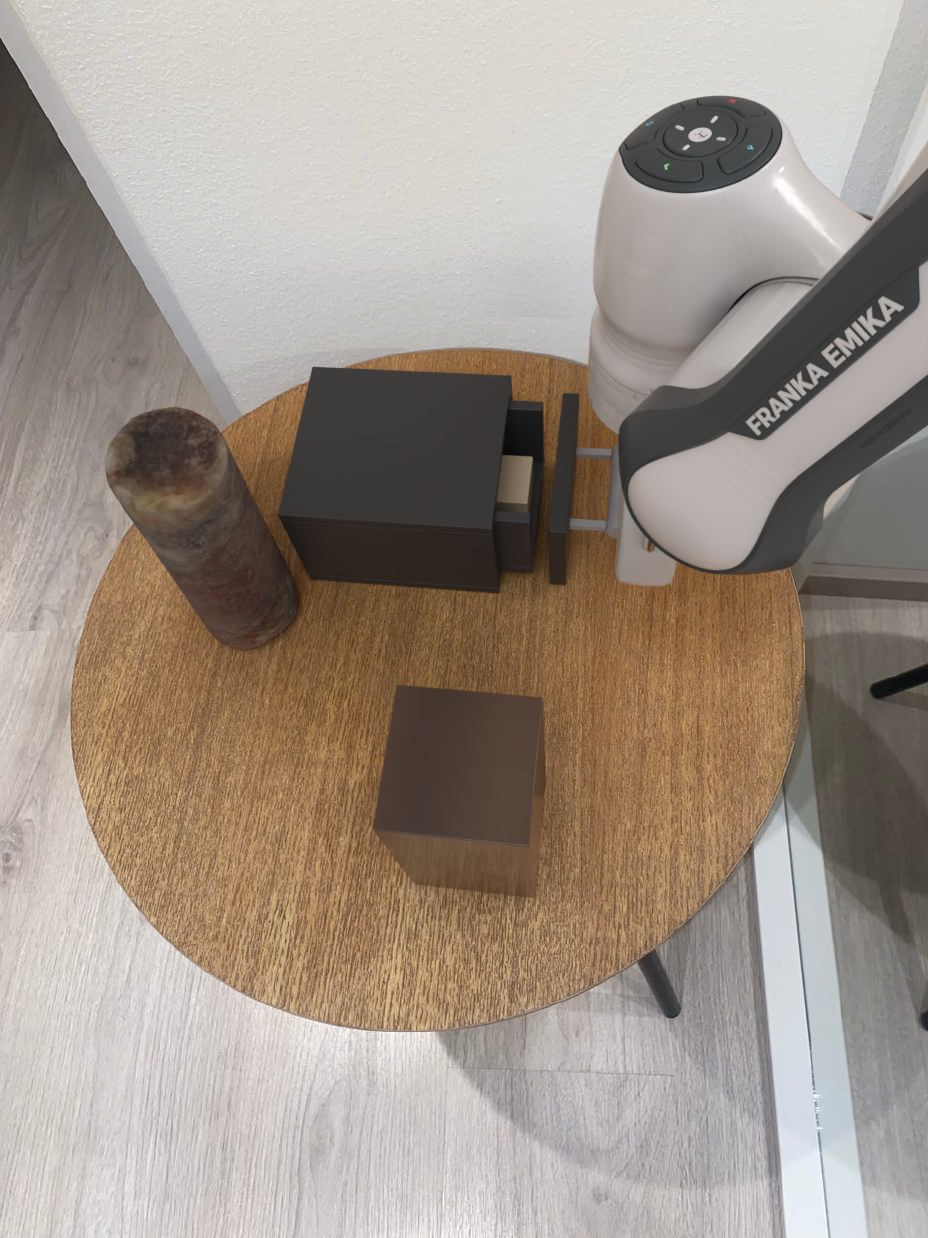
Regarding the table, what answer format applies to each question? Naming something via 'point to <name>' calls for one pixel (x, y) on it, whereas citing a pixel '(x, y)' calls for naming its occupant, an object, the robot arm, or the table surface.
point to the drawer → (521, 528)
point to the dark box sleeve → (398, 478)
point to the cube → (516, 484)
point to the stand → (464, 789)
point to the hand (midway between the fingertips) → (643, 494)
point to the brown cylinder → (202, 524)
